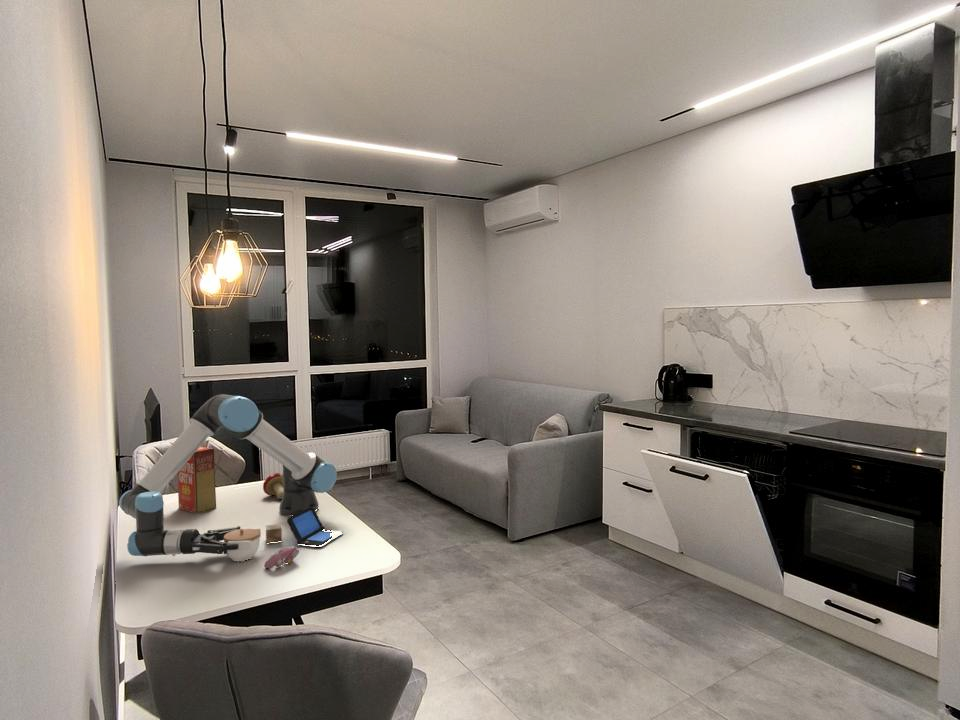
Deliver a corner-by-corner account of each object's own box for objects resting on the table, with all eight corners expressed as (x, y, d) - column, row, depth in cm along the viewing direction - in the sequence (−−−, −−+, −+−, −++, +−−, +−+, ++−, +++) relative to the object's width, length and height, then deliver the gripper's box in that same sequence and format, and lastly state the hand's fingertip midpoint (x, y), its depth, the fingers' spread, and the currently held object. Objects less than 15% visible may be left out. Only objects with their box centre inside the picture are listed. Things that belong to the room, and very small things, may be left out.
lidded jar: (266, 557, 187) (265, 528, 186) (233, 567, 179) (232, 537, 178) (251, 549, 194) (250, 521, 194) (218, 558, 186) (217, 529, 186)
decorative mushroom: (289, 481, 249) (277, 463, 260) (266, 498, 245) (255, 479, 256) (301, 497, 256) (289, 479, 267) (278, 513, 252) (267, 494, 263)
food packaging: (176, 509, 240) (174, 448, 239) (198, 503, 248) (196, 444, 247) (196, 514, 233) (194, 451, 232) (217, 507, 241) (215, 447, 240)
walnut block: (281, 537, 205) (281, 523, 205) (281, 542, 201) (281, 528, 200) (266, 539, 204) (265, 525, 203) (266, 544, 199) (266, 530, 199)
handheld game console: (320, 550, 194) (319, 522, 193) (285, 546, 198) (285, 519, 197) (344, 534, 209) (344, 508, 208) (312, 530, 213) (311, 505, 212)
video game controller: (271, 576, 176) (277, 558, 174) (261, 567, 178) (268, 549, 176) (296, 565, 185) (303, 547, 183) (287, 556, 187) (294, 538, 185)
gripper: (197, 540, 196) (265, 537, 198) (167, 568, 173) (244, 564, 175) (196, 518, 196) (264, 515, 198) (166, 543, 173) (243, 539, 175)
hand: (255, 538), depth 187 cm, fingers closed on lidded jar, 11 cm apart
